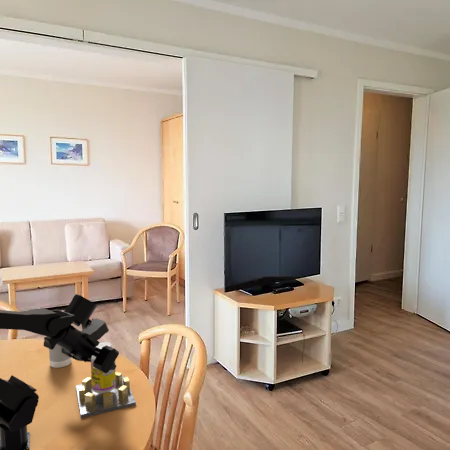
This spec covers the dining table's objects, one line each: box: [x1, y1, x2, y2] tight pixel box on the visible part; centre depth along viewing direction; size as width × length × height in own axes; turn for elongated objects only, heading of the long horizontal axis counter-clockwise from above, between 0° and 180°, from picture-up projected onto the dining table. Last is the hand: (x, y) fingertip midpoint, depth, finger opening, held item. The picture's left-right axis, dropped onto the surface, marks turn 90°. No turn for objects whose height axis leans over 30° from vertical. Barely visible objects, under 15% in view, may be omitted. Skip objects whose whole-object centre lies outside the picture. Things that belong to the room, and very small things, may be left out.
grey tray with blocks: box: [75, 371, 137, 419], centre depth 117 cm, size 16×14×4 cm
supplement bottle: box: [90, 341, 117, 393], centre depth 116 cm, size 7×7×13 cm
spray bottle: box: [48, 310, 73, 369], centre depth 136 cm, size 7×7×18 cm
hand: (107, 364), depth 117 cm, fingers closed on supplement bottle, 7 cm apart
